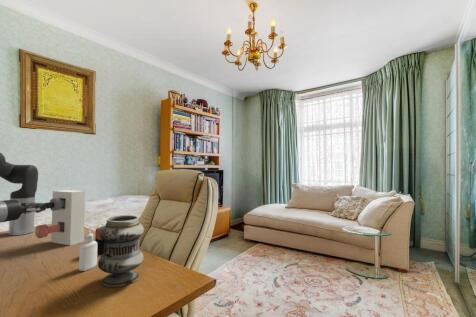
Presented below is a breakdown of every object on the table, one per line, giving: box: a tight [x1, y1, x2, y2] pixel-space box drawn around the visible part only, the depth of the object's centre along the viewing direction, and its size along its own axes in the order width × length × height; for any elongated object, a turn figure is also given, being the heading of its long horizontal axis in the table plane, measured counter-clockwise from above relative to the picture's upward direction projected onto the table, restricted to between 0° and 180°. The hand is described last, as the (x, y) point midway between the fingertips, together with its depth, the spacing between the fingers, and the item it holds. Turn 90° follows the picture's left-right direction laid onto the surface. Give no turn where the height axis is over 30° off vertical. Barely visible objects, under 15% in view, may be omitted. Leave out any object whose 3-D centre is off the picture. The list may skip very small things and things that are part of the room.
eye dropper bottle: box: [78, 230, 98, 272], centre depth 80 cm, size 4×6×12 cm
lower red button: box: [34, 224, 60, 239], centre depth 100 cm, size 7×5×5 cm
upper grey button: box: [49, 197, 65, 212], centre depth 105 cm, size 7×5×5 cm
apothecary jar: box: [97, 214, 145, 288], centre depth 72 cm, size 12×12×18 cm
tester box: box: [50, 189, 86, 246], centre depth 107 cm, size 6×12×22 cm, turn 69°
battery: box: [94, 225, 105, 256], centre depth 95 cm, size 4×7×10 cm, turn 138°
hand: (53, 204), depth 101 cm, fingers closed
